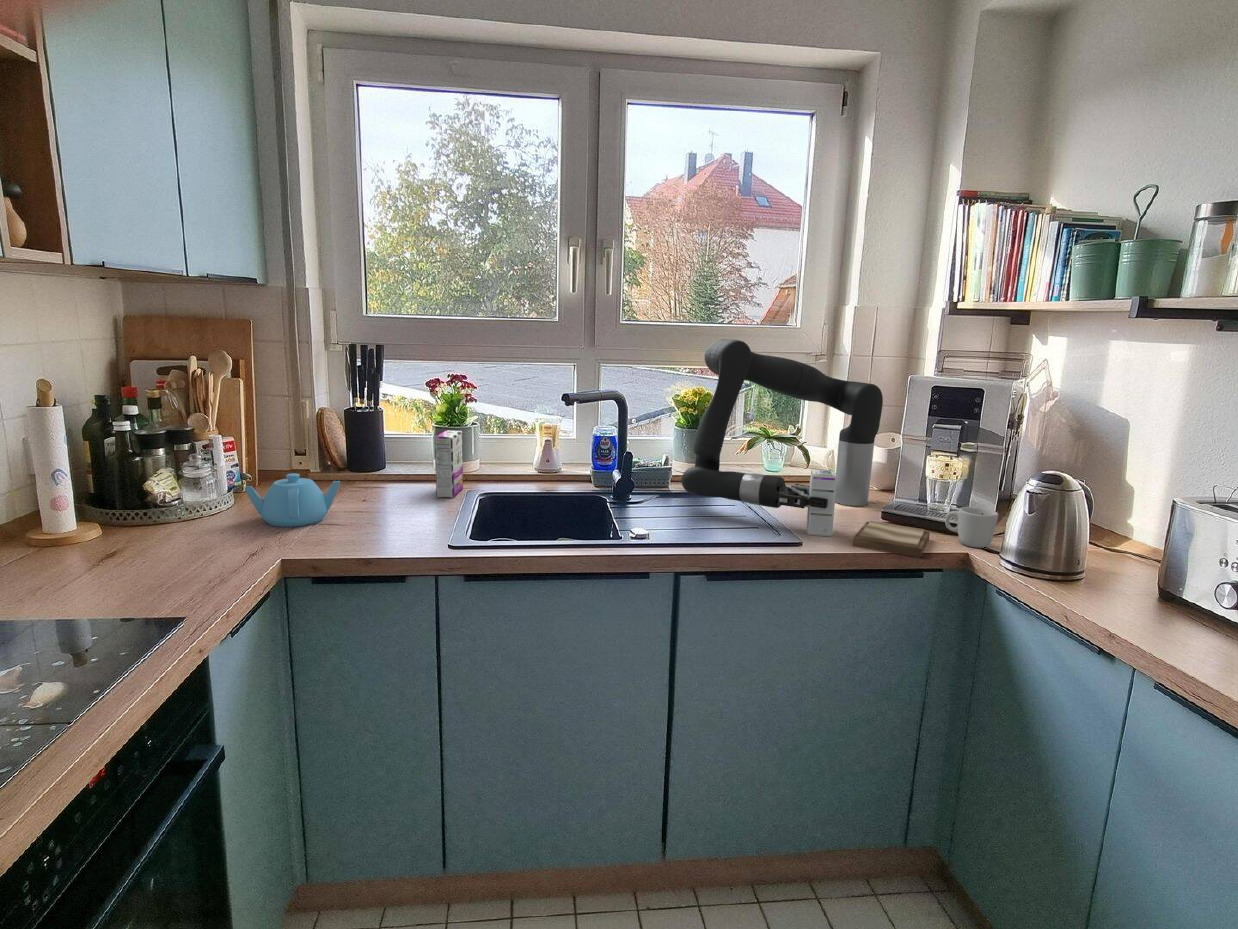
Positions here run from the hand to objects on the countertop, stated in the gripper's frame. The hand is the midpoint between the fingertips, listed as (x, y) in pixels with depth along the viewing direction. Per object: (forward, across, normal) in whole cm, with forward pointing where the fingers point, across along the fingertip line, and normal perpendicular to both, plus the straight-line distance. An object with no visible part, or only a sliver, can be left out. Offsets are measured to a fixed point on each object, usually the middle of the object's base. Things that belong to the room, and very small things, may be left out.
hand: (831, 500), depth 164 cm
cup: (+29, +12, +8) cm, 32 cm away
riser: (+14, +2, +8) cm, 16 cm away
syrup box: (-2, 0, +8) cm, 8 cm away
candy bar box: (-96, -22, +9) cm, 99 cm away
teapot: (-106, -62, +9) cm, 123 cm away
